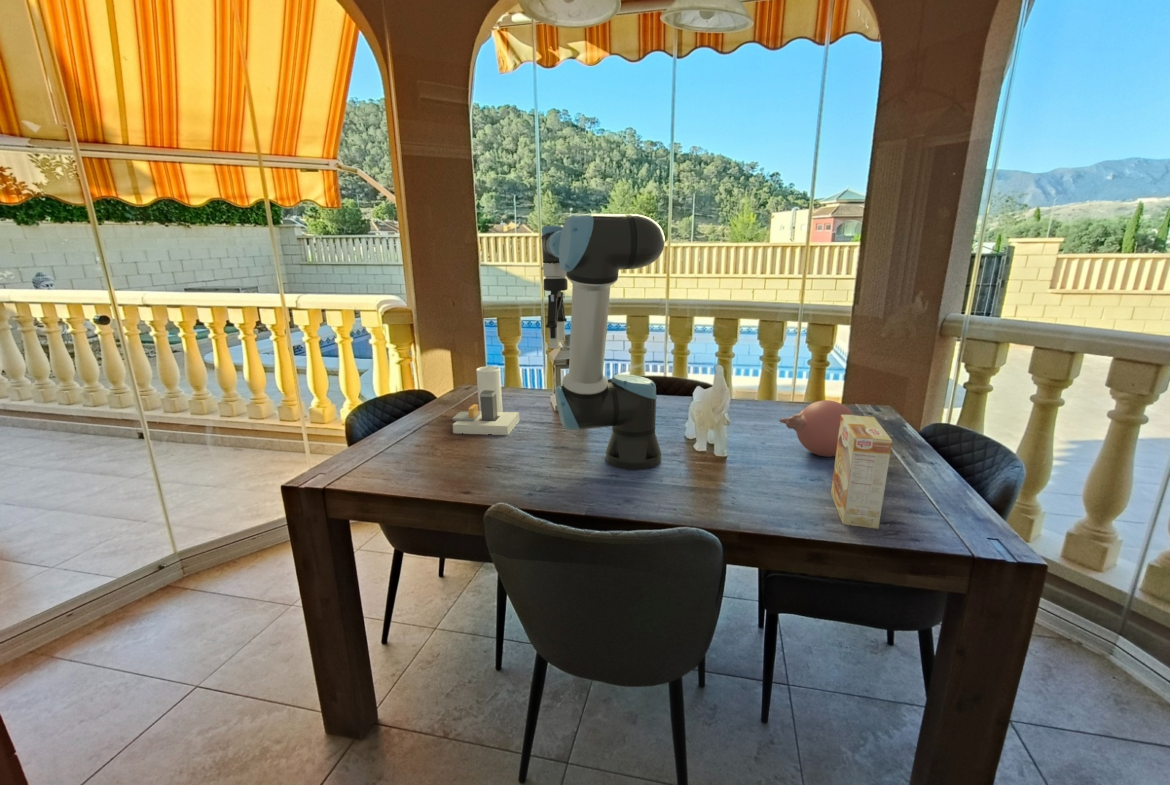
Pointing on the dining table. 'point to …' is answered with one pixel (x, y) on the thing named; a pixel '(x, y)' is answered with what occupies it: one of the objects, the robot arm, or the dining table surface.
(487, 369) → the cup
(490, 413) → the plug
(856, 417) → the coffeecake box
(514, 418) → the socket plate
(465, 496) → the dining table surface
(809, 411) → the pomegranate
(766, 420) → the dining table surface
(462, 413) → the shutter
